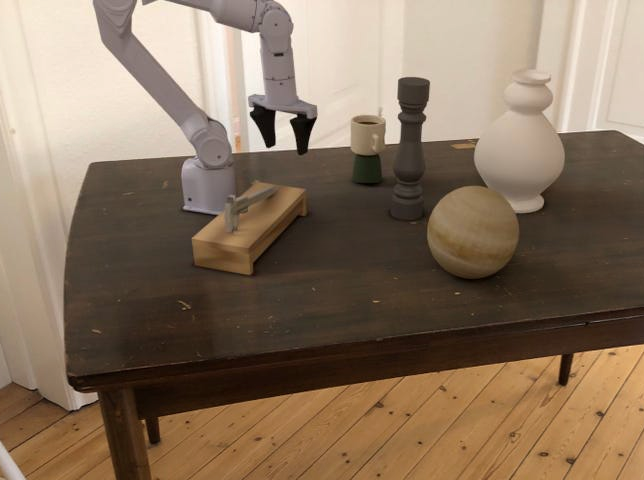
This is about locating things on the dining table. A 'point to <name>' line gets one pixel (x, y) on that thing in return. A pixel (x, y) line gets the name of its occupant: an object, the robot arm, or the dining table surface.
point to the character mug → (367, 147)
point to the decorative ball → (473, 232)
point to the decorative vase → (522, 144)
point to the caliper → (243, 206)
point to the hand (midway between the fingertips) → (286, 150)
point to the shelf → (248, 230)
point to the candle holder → (410, 149)
